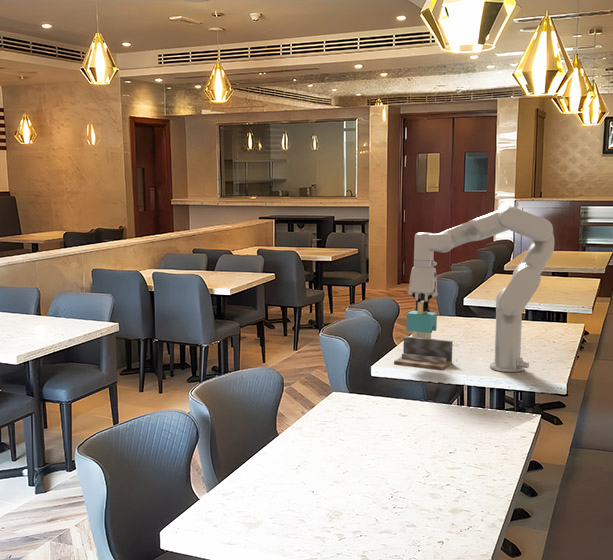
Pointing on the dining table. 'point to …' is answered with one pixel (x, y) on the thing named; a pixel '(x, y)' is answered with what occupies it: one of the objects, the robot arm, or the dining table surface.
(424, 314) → the teal block
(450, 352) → the wall board
